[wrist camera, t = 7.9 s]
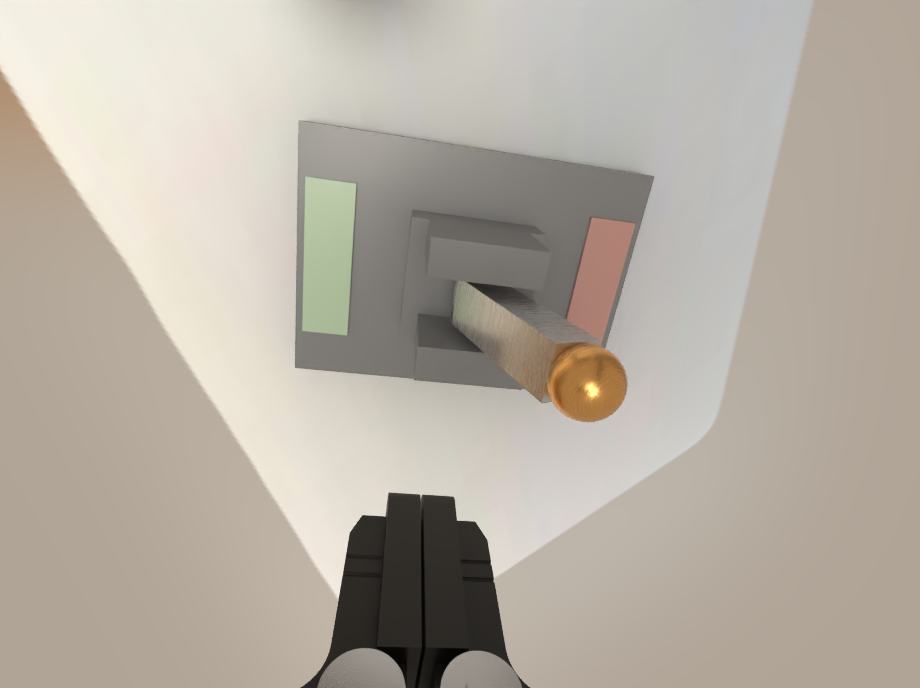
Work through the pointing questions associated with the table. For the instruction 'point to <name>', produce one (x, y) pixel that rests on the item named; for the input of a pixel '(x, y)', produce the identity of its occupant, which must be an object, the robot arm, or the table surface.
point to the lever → (541, 350)
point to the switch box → (447, 248)
